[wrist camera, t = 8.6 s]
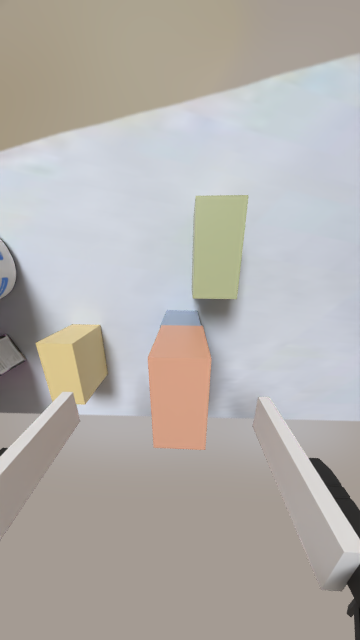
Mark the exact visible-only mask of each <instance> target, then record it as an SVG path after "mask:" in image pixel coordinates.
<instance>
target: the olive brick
mask: <svg viewBox="0 0 360 640" xmlns="http://www.w3.org/2000/svg"><path fill="white" fill-rule="evenodd" d="M247 204H248V195H226V196H196V199H195V209H194V223H193V261H192V296H193V298H197V299H237V293H238V284H239V275H240V266H241V257H242V248H243V240H244V231H245V222H246V213H247Z"/></svg>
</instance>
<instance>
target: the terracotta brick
mask: <svg viewBox="0 0 360 640" xmlns="http://www.w3.org/2000/svg"><path fill="white" fill-rule="evenodd" d="M148 369H149V384H150V399H151V414H152V429H153V443H154V448H175V449H196V450H197V449H198V450H205V444H206V431H207V416H208V401H209V387H210V372H211V355H210V352H209V348H208V344H207V340H206V336H205V332H204V328H203V326H184V325H161V328H160V330H159V332H158V335H157V337H156V339H155V342H154V344H153V346H152V349H151V351H150V353H149V356H148Z"/></svg>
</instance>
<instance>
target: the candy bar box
mask: <svg viewBox="0 0 360 640" xmlns="http://www.w3.org/2000/svg"><path fill="white" fill-rule="evenodd" d="M25 360H26V359H25V357H24V355H23V354H22V353H21V352H20V350H19V349H18V348H17V347H16V346H15V344H14V343H13V342H12V340H11V339H10V338H9V337H8V335H3V336H0V376H1V375H2V374H4V373H5V372H7V371H9V370H11V369H12V368H14V367H16V366H17V365H19V364H21V363H22V362H24V361H25Z"/></svg>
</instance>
